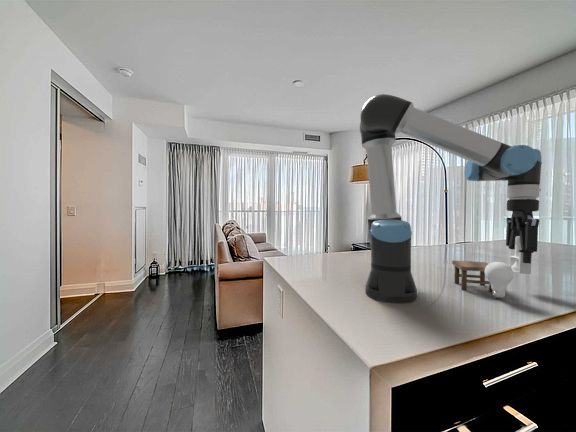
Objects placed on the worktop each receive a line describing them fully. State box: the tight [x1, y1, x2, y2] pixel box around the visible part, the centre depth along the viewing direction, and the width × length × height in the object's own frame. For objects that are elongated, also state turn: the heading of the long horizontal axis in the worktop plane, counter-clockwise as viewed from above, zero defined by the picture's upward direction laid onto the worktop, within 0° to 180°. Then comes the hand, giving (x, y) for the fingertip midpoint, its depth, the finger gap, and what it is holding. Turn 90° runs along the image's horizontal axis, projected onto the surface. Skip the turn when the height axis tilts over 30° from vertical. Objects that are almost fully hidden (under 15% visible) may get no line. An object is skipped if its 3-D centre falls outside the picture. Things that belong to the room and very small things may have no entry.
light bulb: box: [484, 261, 515, 300], centre depth 73 cm, size 7×7×11 cm
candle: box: [510, 236, 526, 275], centre depth 80 cm, size 5×5×12 cm
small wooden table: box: [451, 260, 493, 294], centre depth 84 cm, size 10×10×8 cm
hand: (519, 270), depth 80 cm, fingers closed on candle, 5 cm apart
